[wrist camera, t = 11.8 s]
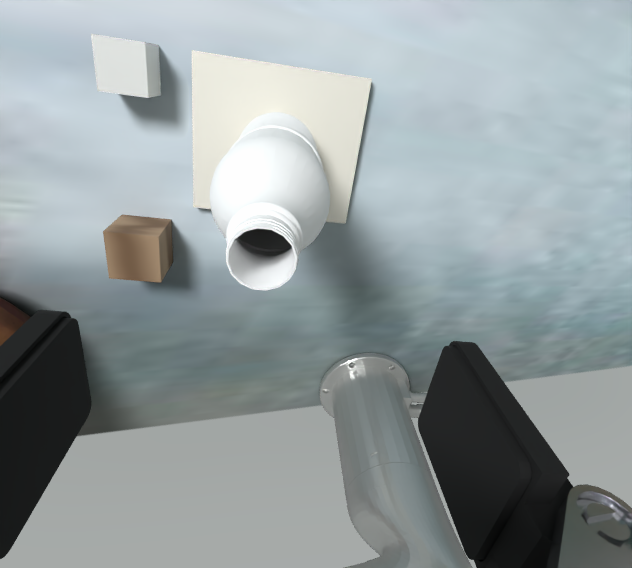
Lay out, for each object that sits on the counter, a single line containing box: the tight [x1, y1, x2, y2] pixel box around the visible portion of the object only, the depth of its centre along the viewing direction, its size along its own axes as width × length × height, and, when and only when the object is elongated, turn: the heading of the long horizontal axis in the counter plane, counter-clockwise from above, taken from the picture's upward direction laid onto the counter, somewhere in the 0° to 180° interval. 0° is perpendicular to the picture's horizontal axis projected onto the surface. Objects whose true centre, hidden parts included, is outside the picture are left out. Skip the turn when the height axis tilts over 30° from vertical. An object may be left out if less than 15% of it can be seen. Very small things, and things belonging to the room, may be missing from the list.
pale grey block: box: [91, 34, 161, 98], centre depth 33 cm, size 4×4×4 cm
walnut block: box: [103, 215, 173, 282], centre depth 40 cm, size 5×5×5 cm
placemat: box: [192, 50, 372, 224], centre depth 38 cm, size 16×14×1 cm
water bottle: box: [210, 112, 330, 290], centre depth 27 cm, size 7×7×25 cm
